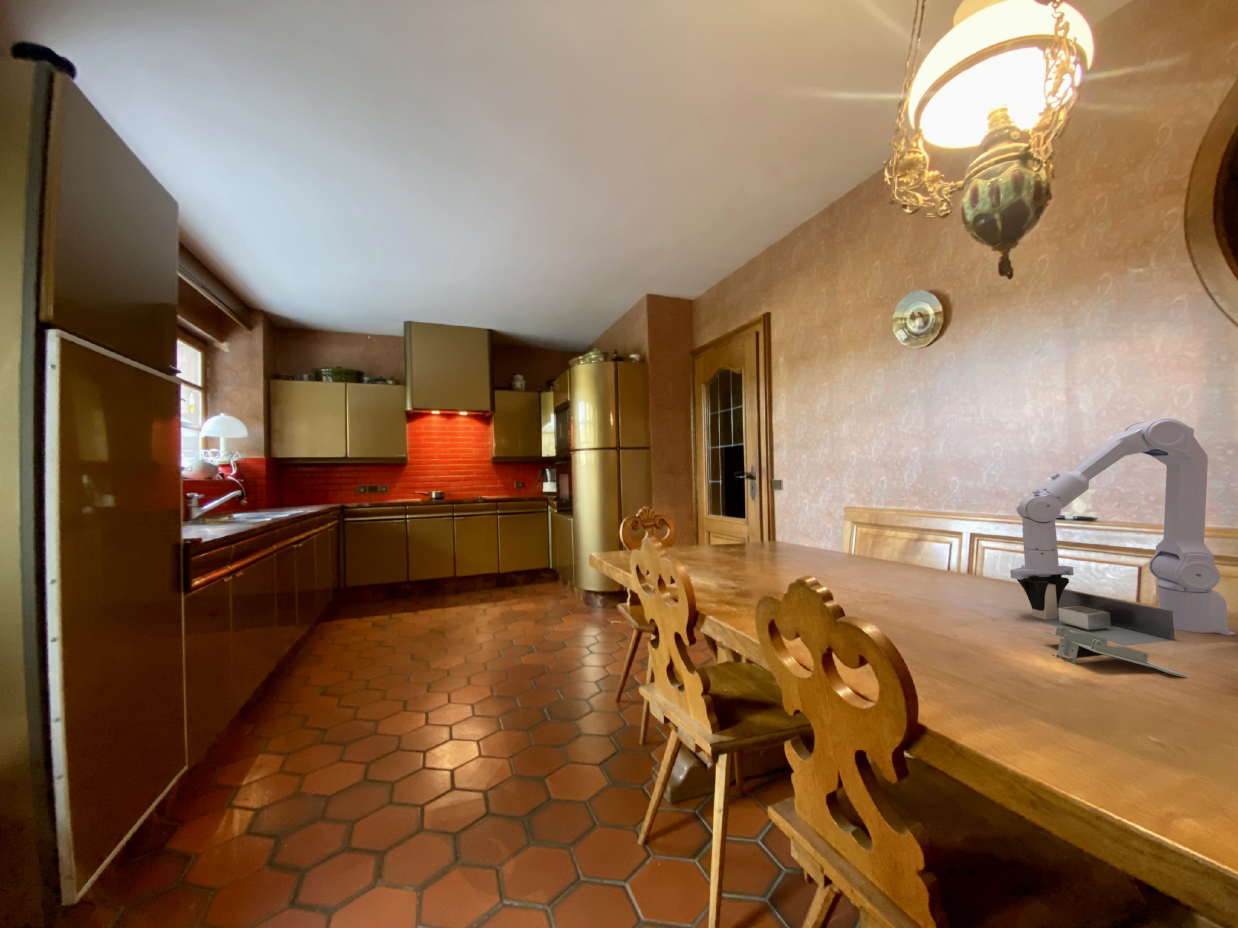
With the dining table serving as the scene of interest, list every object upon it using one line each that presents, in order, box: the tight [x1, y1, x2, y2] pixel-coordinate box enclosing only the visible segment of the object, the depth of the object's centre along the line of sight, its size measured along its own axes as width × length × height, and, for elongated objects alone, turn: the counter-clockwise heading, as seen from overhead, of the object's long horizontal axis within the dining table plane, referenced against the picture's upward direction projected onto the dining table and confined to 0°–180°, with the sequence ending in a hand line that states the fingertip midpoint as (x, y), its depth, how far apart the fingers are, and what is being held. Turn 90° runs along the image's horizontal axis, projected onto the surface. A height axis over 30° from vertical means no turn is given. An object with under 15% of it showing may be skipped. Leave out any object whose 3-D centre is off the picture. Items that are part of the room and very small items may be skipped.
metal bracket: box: [1043, 626, 1188, 679], centre depth 83 cm, size 14×6×15 cm
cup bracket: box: [1057, 588, 1176, 641], centre depth 98 cm, size 10×20×6 cm, turn 9°
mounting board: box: [1019, 612, 1177, 646], centre depth 98 cm, size 12×20×1 cm, turn 9°
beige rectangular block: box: [1031, 583, 1058, 620], centre depth 105 cm, size 3×3×8 cm
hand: (1044, 608), depth 105 cm, fingers closed on beige rectangular block, 3 cm apart
